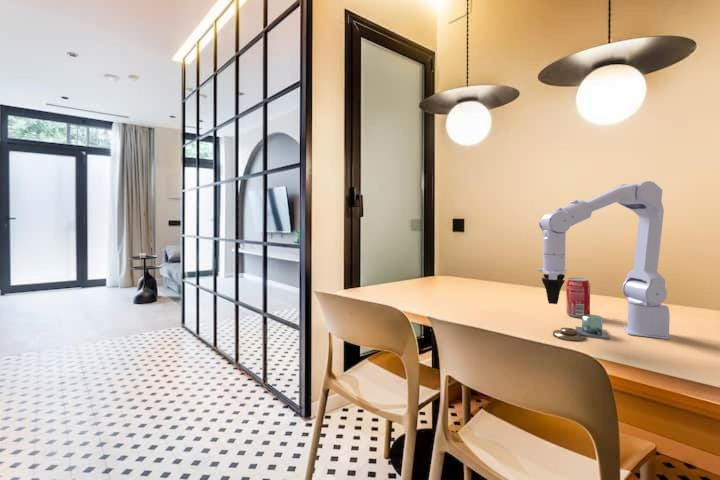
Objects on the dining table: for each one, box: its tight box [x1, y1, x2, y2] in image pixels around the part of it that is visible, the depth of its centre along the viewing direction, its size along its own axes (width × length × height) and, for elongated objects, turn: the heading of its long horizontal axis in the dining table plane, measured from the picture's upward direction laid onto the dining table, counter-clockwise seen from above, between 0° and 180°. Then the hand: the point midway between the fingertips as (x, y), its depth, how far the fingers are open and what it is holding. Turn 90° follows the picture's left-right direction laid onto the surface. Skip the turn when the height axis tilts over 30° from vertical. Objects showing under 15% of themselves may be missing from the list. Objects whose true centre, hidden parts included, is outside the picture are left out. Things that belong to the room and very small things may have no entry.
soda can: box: [565, 277, 591, 319], centre depth 127 cm, size 7×7×13 cm
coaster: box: [575, 326, 611, 340], centre depth 108 cm, size 8×8×1 cm
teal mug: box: [581, 313, 603, 335], centre depth 108 cm, size 7×5×4 cm
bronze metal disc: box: [552, 327, 586, 342], centre depth 106 cm, size 8×8×2 cm
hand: (553, 300), depth 106 cm, fingers open, 7 cm apart
